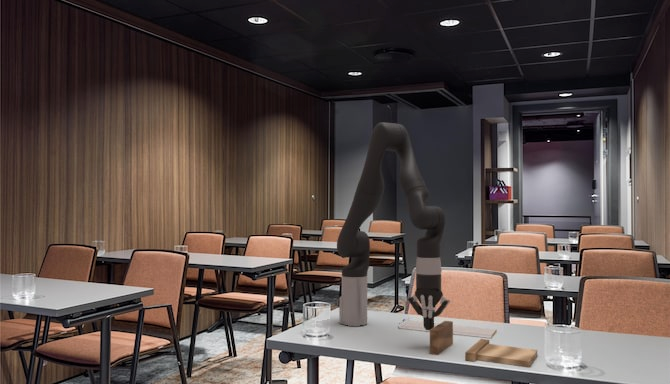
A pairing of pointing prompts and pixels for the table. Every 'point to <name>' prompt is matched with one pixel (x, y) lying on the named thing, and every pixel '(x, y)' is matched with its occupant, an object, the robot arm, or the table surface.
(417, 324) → the baseboard molding
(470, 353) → the floor edge
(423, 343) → the table surface
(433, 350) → the plank
